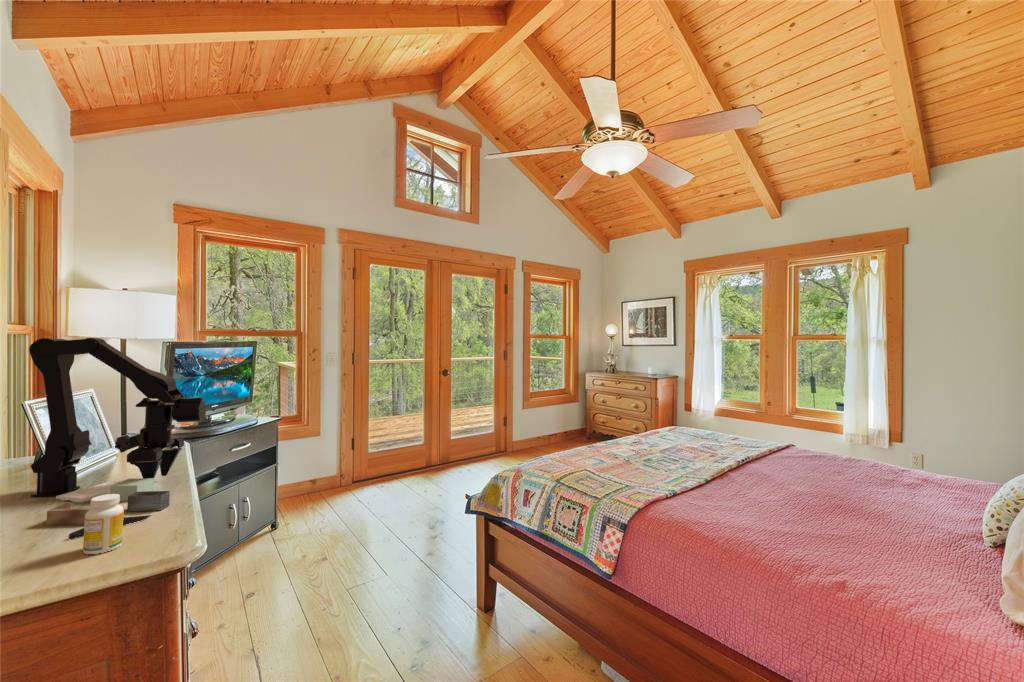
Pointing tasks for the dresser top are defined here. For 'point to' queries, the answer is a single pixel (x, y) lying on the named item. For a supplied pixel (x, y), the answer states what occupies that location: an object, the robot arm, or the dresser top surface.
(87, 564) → the dresser top surface
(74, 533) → the folding knife
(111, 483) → the external hard drive
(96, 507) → the supplement bottle
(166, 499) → the dark gray rectangular block
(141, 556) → the dresser top surface
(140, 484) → the sage block
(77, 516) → the frame
